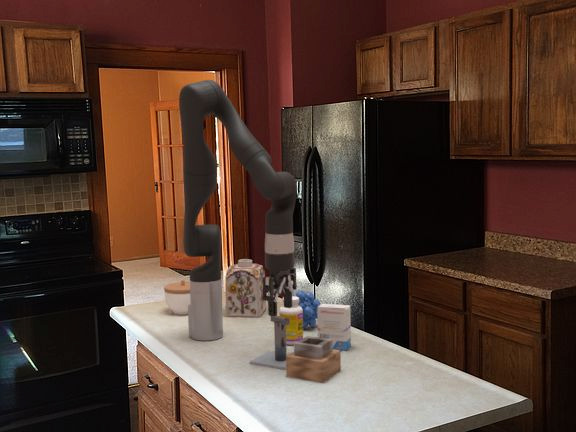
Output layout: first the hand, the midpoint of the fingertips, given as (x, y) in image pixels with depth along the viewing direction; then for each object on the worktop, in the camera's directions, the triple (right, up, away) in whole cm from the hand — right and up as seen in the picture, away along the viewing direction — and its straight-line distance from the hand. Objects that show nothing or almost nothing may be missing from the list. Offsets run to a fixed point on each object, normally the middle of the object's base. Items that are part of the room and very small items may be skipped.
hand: (280, 311), depth 171 cm
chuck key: (0, -13, 0) cm, 12 cm away
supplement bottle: (+3, -11, +17) cm, 21 cm away
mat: (0, -13, +1) cm, 13 cm away
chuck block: (+8, -14, -8) cm, 18 cm away
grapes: (+7, -10, +29) cm, 32 cm away
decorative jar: (-12, -8, +50) cm, 52 cm away
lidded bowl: (-33, -8, +53) cm, 63 cm away
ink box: (+15, -12, +12) cm, 22 cm away
